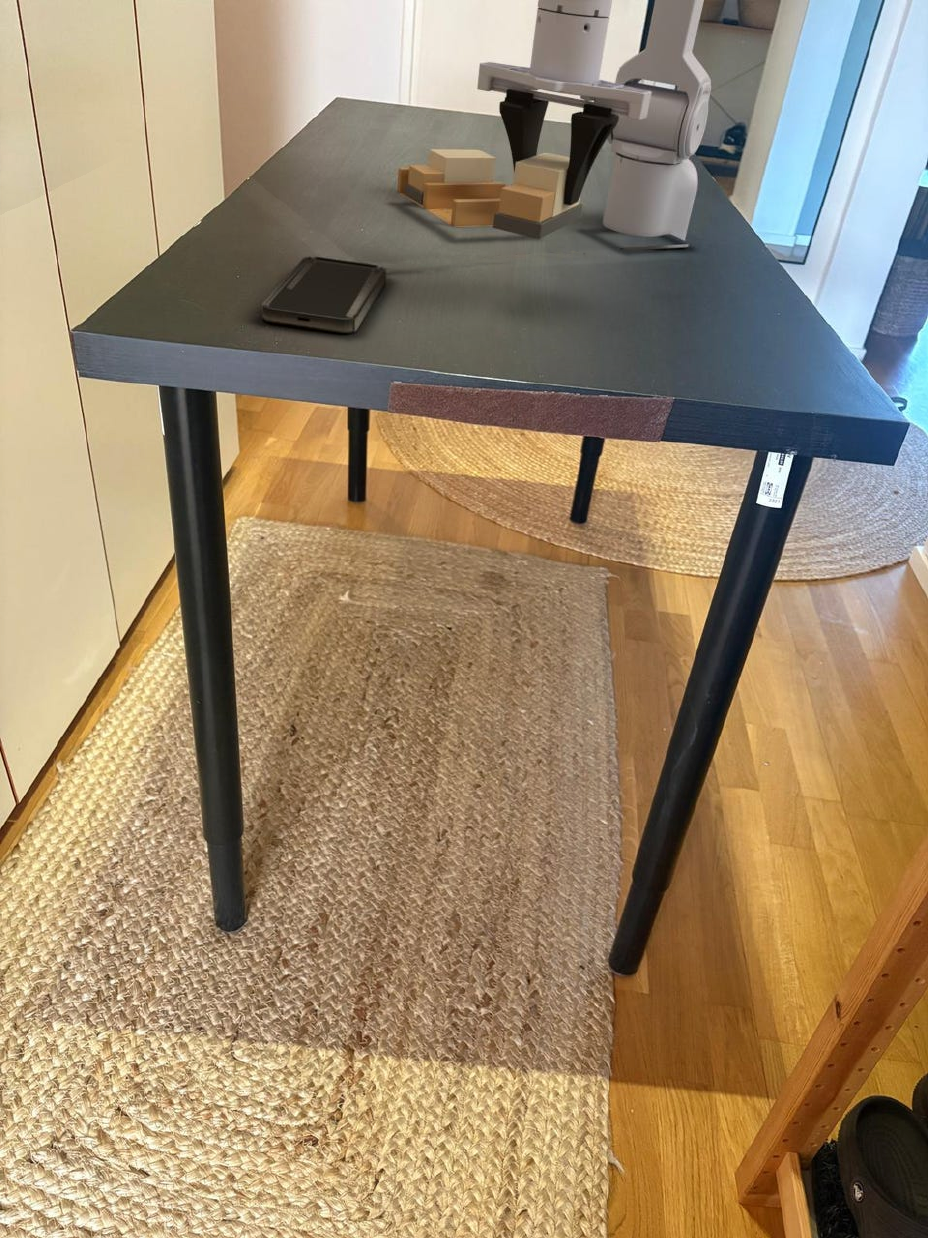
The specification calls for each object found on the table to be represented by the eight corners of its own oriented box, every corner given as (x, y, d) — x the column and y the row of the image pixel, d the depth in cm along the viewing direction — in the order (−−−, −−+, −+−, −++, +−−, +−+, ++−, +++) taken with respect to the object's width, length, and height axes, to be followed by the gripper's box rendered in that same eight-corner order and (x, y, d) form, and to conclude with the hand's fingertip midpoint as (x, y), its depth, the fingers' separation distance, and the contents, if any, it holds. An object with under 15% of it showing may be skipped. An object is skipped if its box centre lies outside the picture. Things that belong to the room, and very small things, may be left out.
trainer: (536, 207, 85) (544, 150, 82) (580, 218, 83) (590, 160, 80) (492, 227, 78) (499, 166, 75) (539, 239, 76) (548, 177, 73)
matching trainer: (476, 192, 110) (481, 148, 107) (494, 202, 107) (499, 157, 104) (404, 194, 106) (406, 148, 103) (421, 204, 103) (424, 157, 100)
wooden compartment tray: (470, 202, 112) (474, 167, 110) (531, 237, 102) (536, 199, 100) (396, 204, 108) (398, 167, 105) (452, 240, 98) (456, 201, 96)
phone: (388, 266, 85) (354, 320, 73) (387, 279, 85) (353, 334, 74) (304, 254, 85) (257, 306, 73) (304, 267, 86) (257, 320, 74)
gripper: (468, -1, 71) (452, 187, 80) (645, 28, 67) (608, 223, 75) (506, -2, 76) (487, 175, 85) (672, 25, 72) (635, 208, 80)
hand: (546, 197), depth 80 cm, fingers closed on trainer, 4 cm apart
